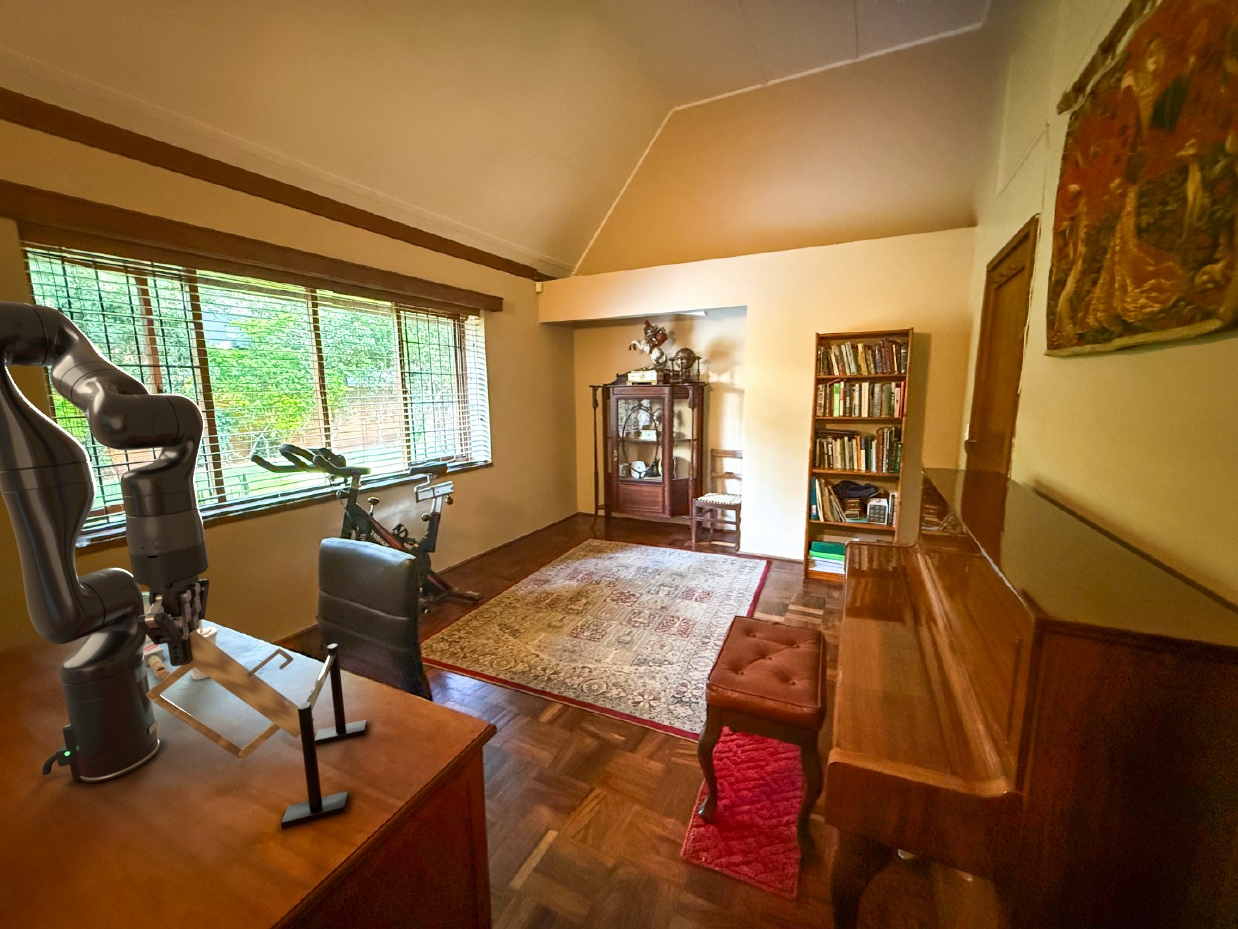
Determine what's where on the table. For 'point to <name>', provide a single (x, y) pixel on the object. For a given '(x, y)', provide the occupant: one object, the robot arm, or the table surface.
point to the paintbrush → (155, 659)
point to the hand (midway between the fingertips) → (185, 660)
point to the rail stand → (341, 730)
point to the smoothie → (211, 636)
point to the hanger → (240, 685)
